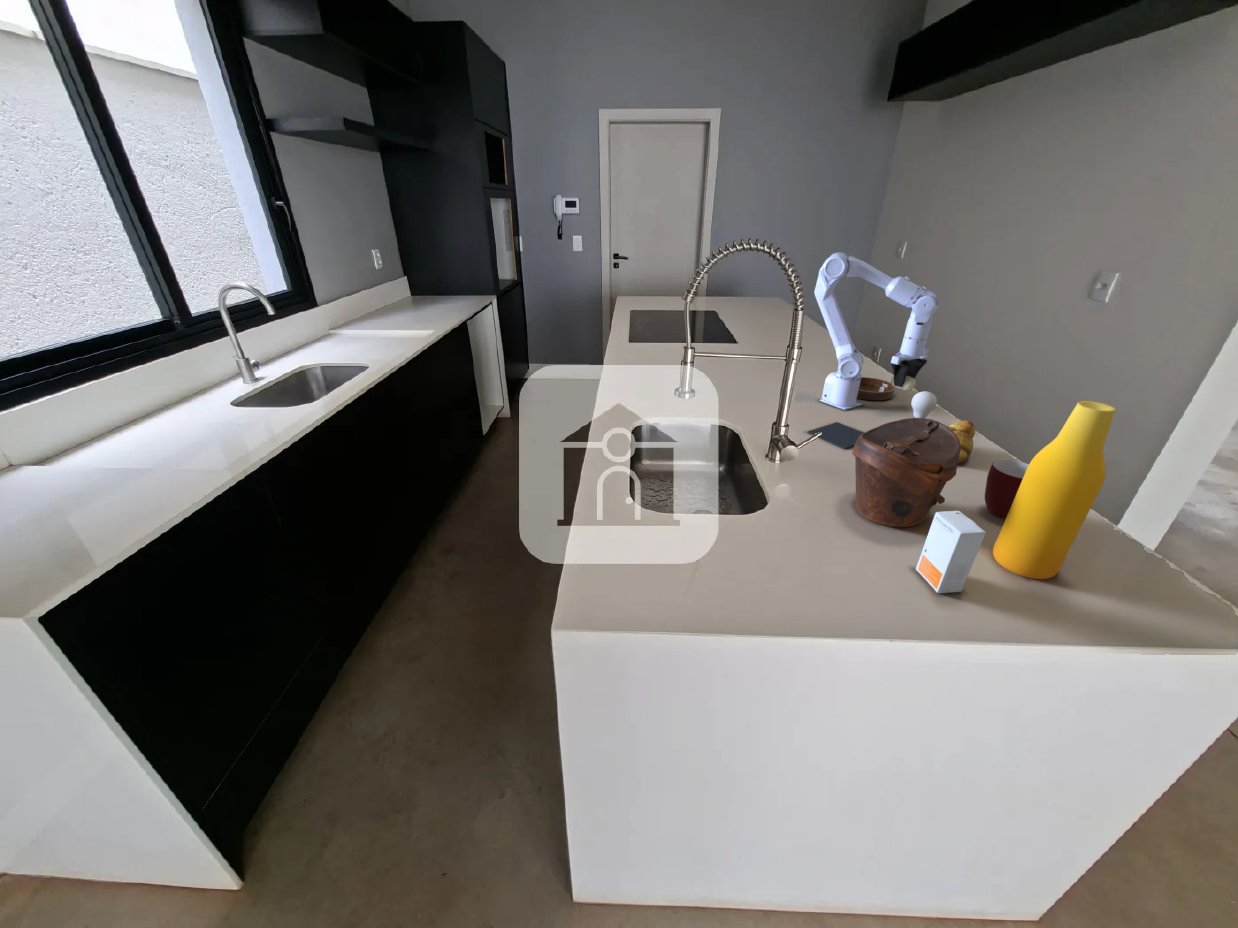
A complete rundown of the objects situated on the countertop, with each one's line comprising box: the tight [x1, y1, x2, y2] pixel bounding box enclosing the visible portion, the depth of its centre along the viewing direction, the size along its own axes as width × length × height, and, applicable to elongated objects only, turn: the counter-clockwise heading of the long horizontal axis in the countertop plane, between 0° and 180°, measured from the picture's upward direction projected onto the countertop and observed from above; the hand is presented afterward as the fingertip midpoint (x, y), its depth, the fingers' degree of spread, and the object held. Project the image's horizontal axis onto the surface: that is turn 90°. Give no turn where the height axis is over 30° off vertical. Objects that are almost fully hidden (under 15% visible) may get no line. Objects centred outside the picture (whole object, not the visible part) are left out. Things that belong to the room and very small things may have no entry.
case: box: [851, 417, 961, 528], centre depth 96 cm, size 18×20×18 cm
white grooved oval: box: [890, 376, 917, 392], centre depth 143 cm, size 7×4×4 cm, turn 31°
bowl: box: [857, 376, 897, 401], centre depth 160 cm, size 15×15×3 cm
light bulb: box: [910, 390, 938, 419], centre depth 135 cm, size 6×6×10 cm
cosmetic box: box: [915, 510, 987, 594], centre depth 79 cm, size 6×4×12 cm
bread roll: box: [946, 420, 976, 464], centre depth 120 cm, size 13×10×8 cm
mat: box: [807, 421, 864, 450], centre depth 132 cm, size 12×12×1 cm
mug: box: [984, 459, 1030, 519], centre depth 96 cm, size 10×8×10 cm
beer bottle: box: [992, 400, 1116, 580], centre depth 79 cm, size 9×9×29 cm
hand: (902, 384), depth 143 cm, fingers closed on white grooved oval, 4 cm apart
